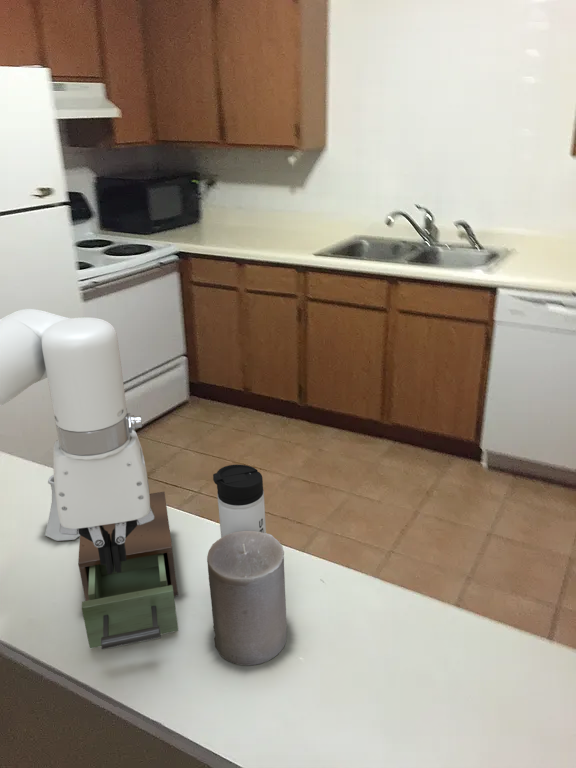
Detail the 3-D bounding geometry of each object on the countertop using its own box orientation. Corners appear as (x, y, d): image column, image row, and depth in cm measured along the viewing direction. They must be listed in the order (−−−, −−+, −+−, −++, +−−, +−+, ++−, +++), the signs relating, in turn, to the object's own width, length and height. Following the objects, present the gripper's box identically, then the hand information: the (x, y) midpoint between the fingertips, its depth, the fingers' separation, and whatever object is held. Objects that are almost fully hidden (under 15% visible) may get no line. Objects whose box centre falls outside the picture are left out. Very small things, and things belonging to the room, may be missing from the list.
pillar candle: (199, 648, 87) (189, 555, 81) (241, 602, 94) (234, 513, 88) (262, 677, 82) (256, 581, 76) (301, 626, 90) (298, 534, 84)
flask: (37, 539, 109) (25, 487, 105) (61, 514, 116) (50, 464, 112) (77, 544, 108) (66, 492, 104) (98, 518, 114) (89, 468, 110)
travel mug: (218, 583, 98) (207, 465, 90) (261, 571, 100) (254, 455, 92) (230, 611, 93) (219, 489, 85) (275, 598, 95) (269, 478, 87)
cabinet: (178, 595, 96) (172, 547, 93) (87, 612, 94) (78, 563, 90) (170, 535, 109) (164, 491, 106) (90, 549, 107) (82, 504, 103)
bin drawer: (182, 660, 84) (176, 619, 81) (88, 680, 82) (79, 638, 79) (170, 566, 101) (165, 529, 98) (92, 580, 98) (85, 543, 95)
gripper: (160, 408, 78) (174, 537, 85) (25, 424, 75) (52, 556, 82) (165, 438, 71) (179, 575, 79) (17, 457, 68) (46, 598, 75)
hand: (114, 565), depth 80 cm, fingers closed
